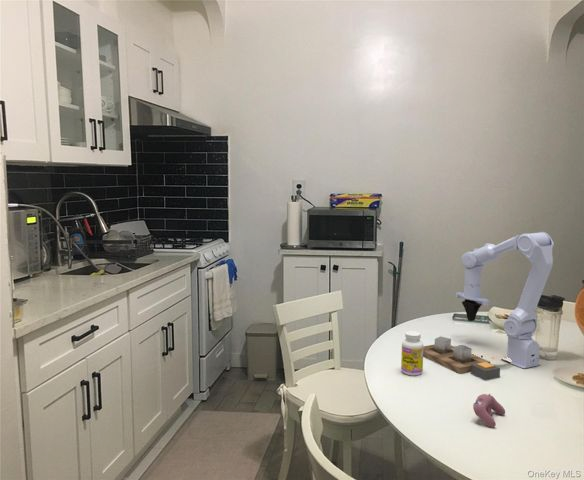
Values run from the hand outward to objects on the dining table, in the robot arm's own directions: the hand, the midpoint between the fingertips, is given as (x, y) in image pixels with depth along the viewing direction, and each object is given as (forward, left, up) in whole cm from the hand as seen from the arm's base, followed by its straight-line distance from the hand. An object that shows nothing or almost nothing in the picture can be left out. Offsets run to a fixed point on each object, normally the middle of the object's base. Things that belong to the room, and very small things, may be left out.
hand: (471, 320), depth 187 cm
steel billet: (-4, +17, -10) cm, 20 cm away
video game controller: (-46, +38, -10) cm, 60 cm away
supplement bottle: (-12, +36, -10) cm, 39 cm away
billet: (-14, +17, -10) cm, 24 cm away
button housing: (-24, +17, -9) cm, 31 cm away
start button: (-24, +17, -9) cm, 31 cm away
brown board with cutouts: (-9, +17, -9) cm, 21 cm away
